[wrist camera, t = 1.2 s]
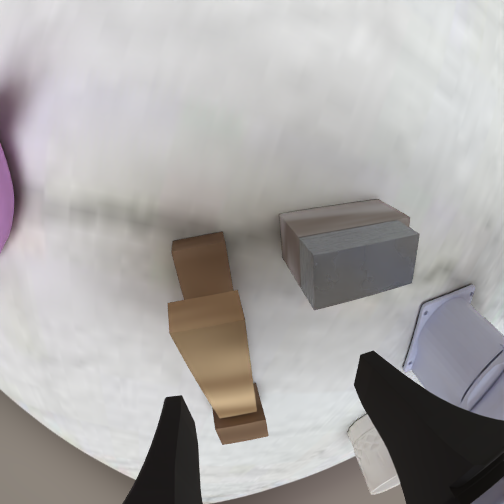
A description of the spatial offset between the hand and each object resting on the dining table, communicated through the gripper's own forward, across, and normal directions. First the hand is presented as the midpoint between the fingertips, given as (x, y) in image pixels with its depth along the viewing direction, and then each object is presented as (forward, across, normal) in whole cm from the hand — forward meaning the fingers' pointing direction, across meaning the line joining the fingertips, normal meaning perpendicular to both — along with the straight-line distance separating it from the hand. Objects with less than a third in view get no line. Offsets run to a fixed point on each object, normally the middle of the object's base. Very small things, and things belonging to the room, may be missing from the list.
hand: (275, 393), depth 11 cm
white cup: (+10, -14, +27) cm, 32 cm away
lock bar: (+6, -6, -2) cm, 9 cm away
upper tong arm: (+6, +2, +4) cm, 7 cm away
